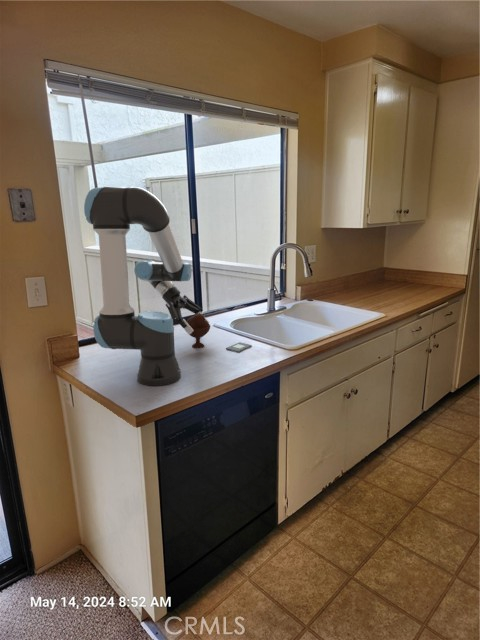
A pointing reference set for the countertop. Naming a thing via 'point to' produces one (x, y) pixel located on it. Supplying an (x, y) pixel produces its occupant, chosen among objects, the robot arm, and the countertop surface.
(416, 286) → the countertop surface
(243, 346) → the mat
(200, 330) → the ice cream bowl
